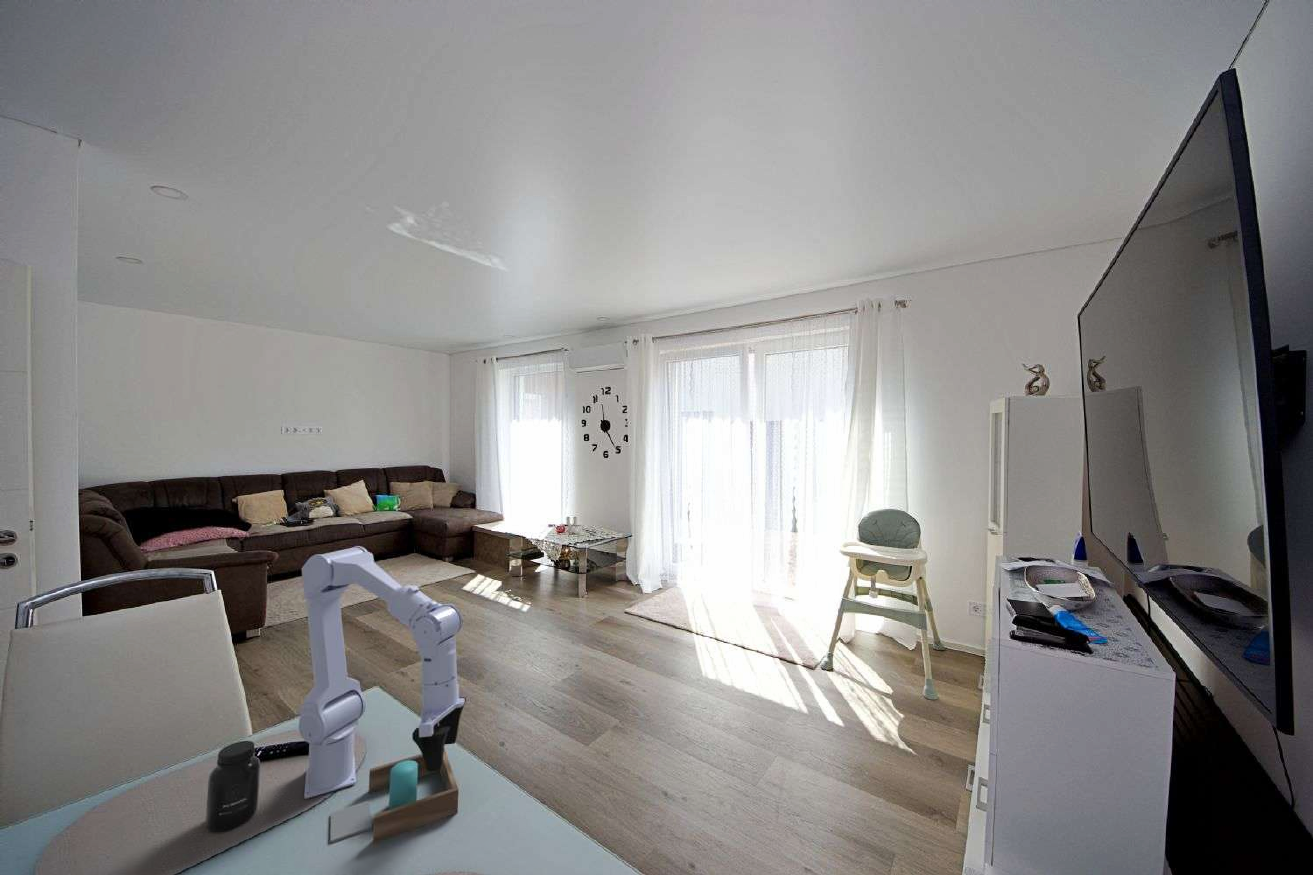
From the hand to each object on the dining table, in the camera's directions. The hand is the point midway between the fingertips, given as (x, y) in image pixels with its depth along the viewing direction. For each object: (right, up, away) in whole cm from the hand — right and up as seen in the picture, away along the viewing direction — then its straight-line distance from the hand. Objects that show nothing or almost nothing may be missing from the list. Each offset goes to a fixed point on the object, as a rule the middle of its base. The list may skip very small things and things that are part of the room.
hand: (442, 755), depth 86 cm
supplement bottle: (-35, -9, -3) cm, 36 cm away
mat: (-15, -10, -3) cm, 18 cm away
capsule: (-8, -10, +2) cm, 13 cm away
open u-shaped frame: (-7, -10, +3) cm, 12 cm away
